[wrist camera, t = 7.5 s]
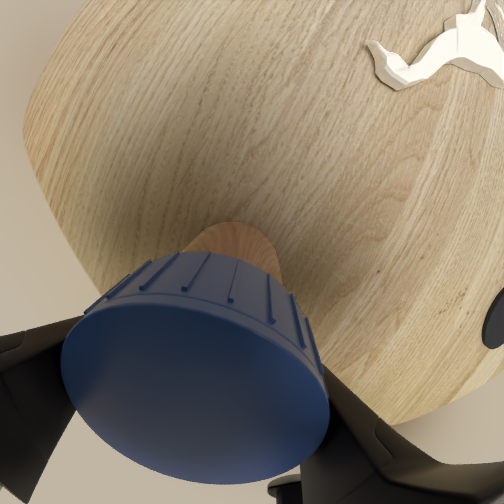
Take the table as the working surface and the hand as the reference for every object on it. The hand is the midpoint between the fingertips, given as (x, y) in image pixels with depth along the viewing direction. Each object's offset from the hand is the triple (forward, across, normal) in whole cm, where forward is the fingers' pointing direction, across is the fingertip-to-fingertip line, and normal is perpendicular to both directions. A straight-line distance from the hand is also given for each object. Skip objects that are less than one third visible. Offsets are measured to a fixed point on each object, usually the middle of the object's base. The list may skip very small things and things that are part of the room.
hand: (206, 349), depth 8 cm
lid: (0, 0, 0) cm, 0 cm away
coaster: (+9, -27, 0) cm, 28 cm away
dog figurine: (+9, -13, -22) cm, 27 cm away
